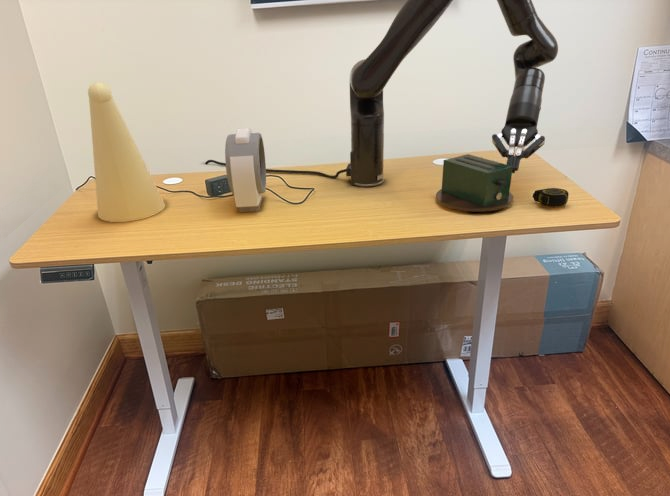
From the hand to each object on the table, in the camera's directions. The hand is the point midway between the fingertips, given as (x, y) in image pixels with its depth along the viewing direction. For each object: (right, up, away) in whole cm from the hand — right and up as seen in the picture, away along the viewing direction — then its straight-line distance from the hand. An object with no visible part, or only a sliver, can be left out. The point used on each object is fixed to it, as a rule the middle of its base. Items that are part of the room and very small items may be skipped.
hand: (511, 171), depth 130 cm
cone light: (-99, -8, +15) cm, 100 cm away
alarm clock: (-66, -6, +15) cm, 68 cm away
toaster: (-7, -6, +7) cm, 12 cm away
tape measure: (+10, -8, +2) cm, 13 cm away
